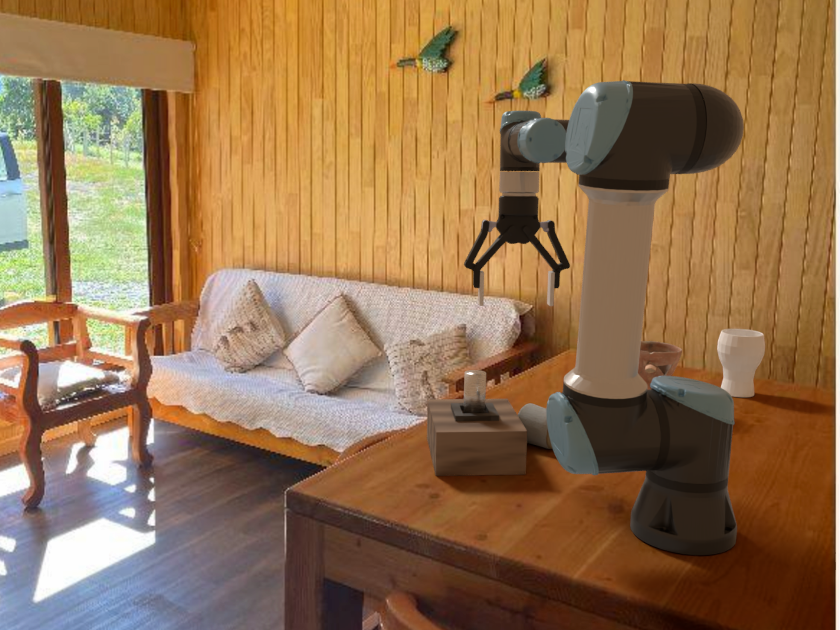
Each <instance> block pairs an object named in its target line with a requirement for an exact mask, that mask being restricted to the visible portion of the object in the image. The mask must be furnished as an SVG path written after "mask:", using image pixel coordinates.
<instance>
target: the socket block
mask: <svg viewBox="0 0 840 630" xmlns="http://www.w3.org/2000/svg"><path fill="white" fill-rule="evenodd" d="M426 403H427V405H426V406H427V407H426V408H427V409H426V410H427V411H426V413H427V414H426V440H427V444H428V445H427V446H428V449H429V453H430V456H431V461H432V467H433V470H434V475H435V477H437V476H439V477H440V476H441V477H443V476H445V477H446V476H454V477H455V476H502V475H505V476H506V475H509V476H510V475H519V476H520V475H526V474H527V473H526V471H527V444H528V443H527V430H526V428H525V427H524V425H523V423H522V422H521V420H520V419H519V417H518V413H517V412H516V410H515V408H514V407H513V405H512V404H511V402H510V400H509V399H508V398H485V413H464V398H455V399H453V398H447V399H446V398H445V399H443V398H441V399H440V398H439V399H438V398H437V399H435V398H434V399H430V398H429V399H428V398H427V401H426Z"/></svg>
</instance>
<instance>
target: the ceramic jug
mask: <svg viewBox="0 0 840 630" xmlns="http://www.w3.org/2000/svg"><path fill="white" fill-rule="evenodd" d="M682 352H683V349H682V348H681V347H679V346H677V345H674V344H671V343H667V342H660V341H656V340H655V341H654V340H649V341H647V340H641V346H640V356H639V366H638V374H639V375H640V376H641V377H642V379H643V380H644V381H645V382H646V383H647V385H648V388H647V390H649V389H651V387H650V383H651V382H652V379H653V378H654V377H658V376H673V374H674V373H675V370H676V369H677V366H678V364H679V362H680V360H681V356H682Z"/></svg>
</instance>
